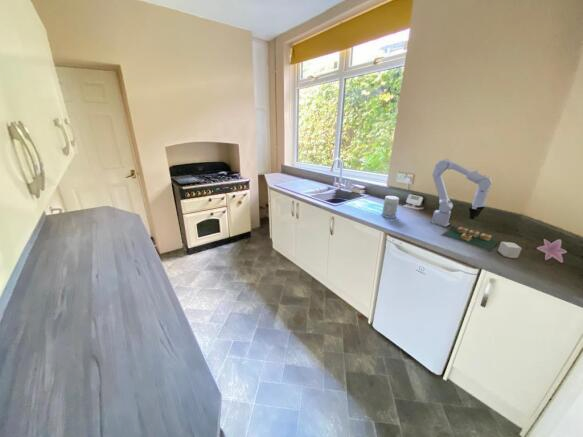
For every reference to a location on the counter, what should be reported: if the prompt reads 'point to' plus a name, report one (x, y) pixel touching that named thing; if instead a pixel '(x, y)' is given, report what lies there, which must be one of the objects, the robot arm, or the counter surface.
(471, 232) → the letter t
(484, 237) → the letter s
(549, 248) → the lily
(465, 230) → the letter i
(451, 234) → the word mat
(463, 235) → the letter o
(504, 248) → the white cube
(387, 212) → the supplement tub
